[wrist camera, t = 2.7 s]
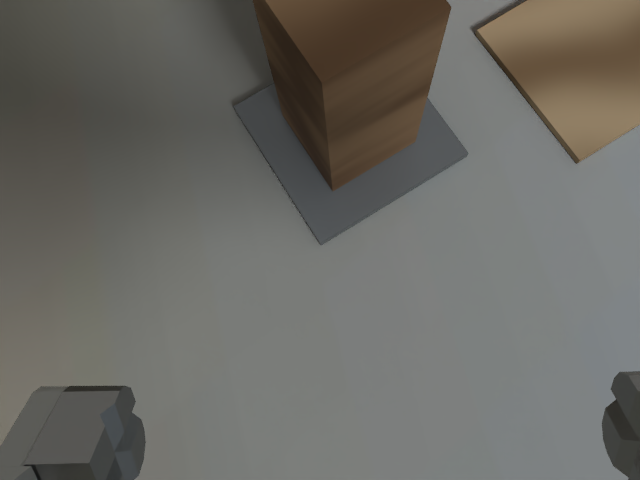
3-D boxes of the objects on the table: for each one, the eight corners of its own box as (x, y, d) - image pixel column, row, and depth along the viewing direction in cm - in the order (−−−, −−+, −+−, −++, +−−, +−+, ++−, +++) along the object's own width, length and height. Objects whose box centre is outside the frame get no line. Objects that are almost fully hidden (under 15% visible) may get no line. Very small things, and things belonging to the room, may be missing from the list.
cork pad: (475, 34, 29) (477, 29, 28) (607, -44, 29) (610, -50, 29) (576, 163, 27) (579, 160, 26) (715, 77, 27) (720, 72, 27)
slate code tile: (235, 110, 28) (232, 105, 28) (373, 29, 29) (373, 23, 28) (320, 245, 26) (320, 243, 26) (466, 156, 27) (468, 152, 27)
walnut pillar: (282, 115, 28) (245, -29, 18) (362, 68, 28) (368, -99, 18) (332, 191, 27) (321, 82, 17) (415, 141, 27) (451, 7, 17)
